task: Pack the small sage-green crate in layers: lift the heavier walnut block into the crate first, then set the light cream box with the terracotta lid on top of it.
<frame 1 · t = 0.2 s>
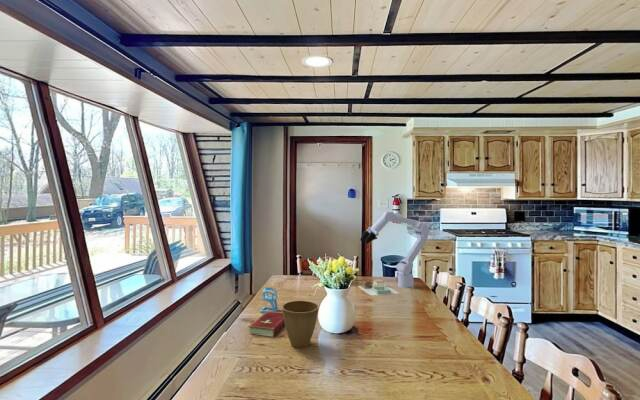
hand: (363, 241, 238), 31 cm above the table, tool tilted 45°, fingers open, 7 cm apart
packing board: (380, 293, 232), on the table
plant pot: (300, 344, 157), on the table
snack box: (334, 283, 256), on the table
cream box: (378, 286, 245), point 1 cm above the table, touching packing board
hardcover book: (270, 328, 176), on the table
chair: (269, 311, 199), on the table
walnut block: (367, 287, 242), point 1 cm above the table, touching packing board
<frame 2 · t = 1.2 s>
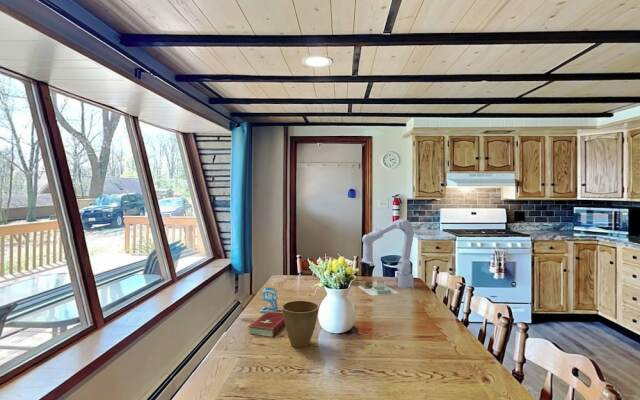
hand: (367, 274, 242), 9 cm above the table, tool pointing down, fingers open, 7 cm apart
nothing on the table moved.
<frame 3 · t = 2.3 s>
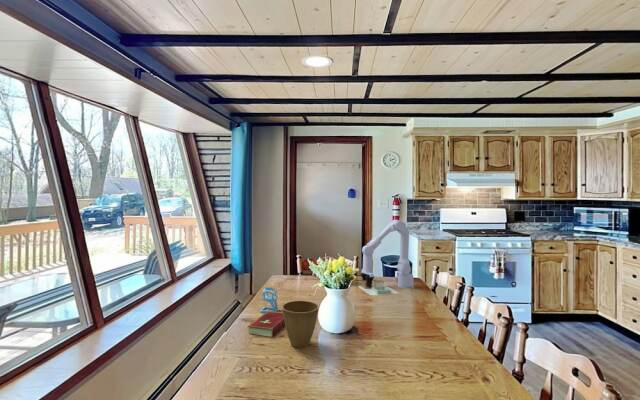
hand: (367, 285, 242), 2 cm above the table, tool pointing down, fingers closed on walnut block, 5 cm apart
walnut block: (367, 287, 242), point 1 cm above the table, touching gripper, packing board
everything else where it was.
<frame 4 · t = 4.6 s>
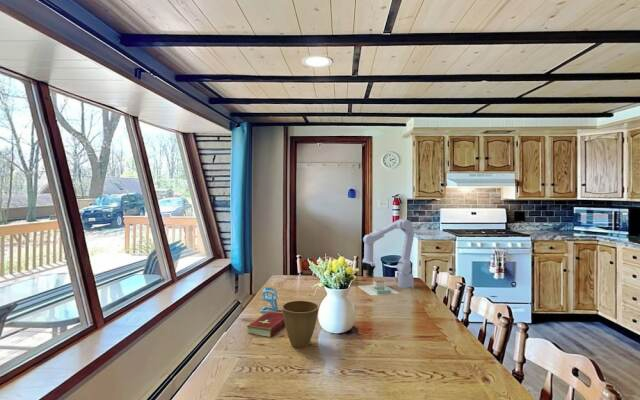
hand: (368, 275, 241), 9 cm above the table, tool pointing down, fingers closed on walnut block, 5 cm apart
walnut block: (368, 277, 241), point 8 cm above the table, touching gripper
everything else where it was.
when the fingers open (4 cm above the table, at t = 7.1 s): walnut block drops 2 cm, resting on packing board.
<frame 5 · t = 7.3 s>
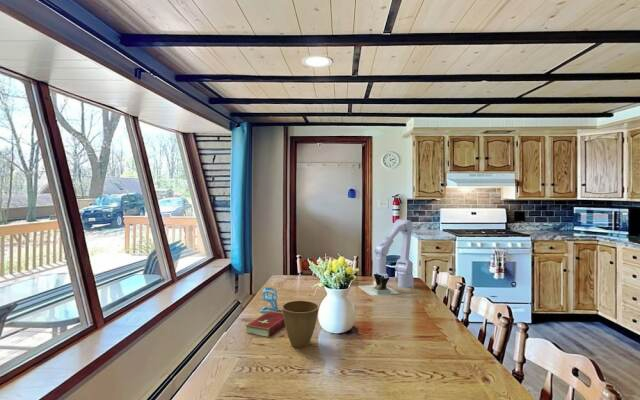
hand: (381, 287, 232), 4 cm above the table, tool pointing down, fingers open, 7 cm apart
walnut block: (380, 292, 232), point 1 cm above the table, touching packing board
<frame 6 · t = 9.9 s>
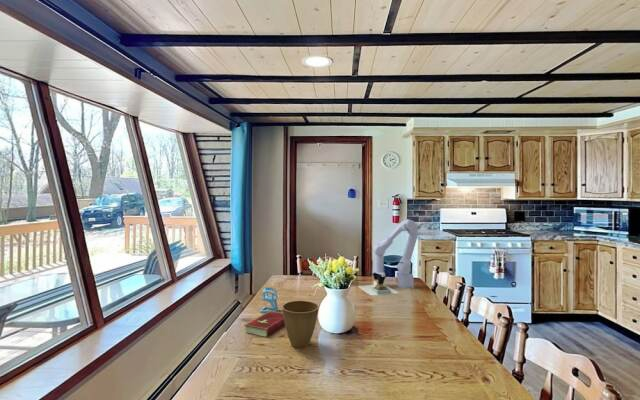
hand: (378, 285, 245), 2 cm above the table, tool pointing down, fingers closed on cream box, 5 cm apart
cream box: (378, 286, 245), point 1 cm above the table, touching gripper, packing board
when the fingers open (6 cm above the table, at t = 14.0 s): cream box stays where it is, resting on walnut block.
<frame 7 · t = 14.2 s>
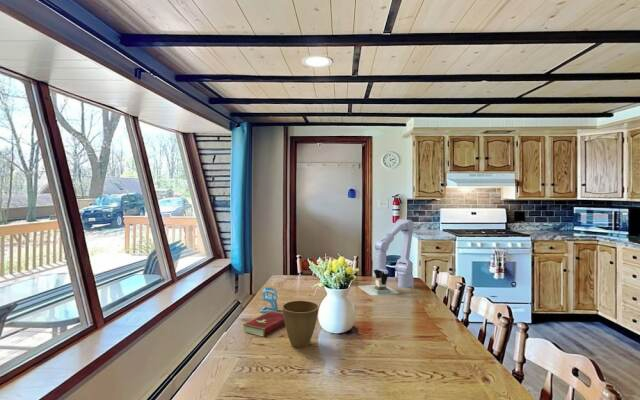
hand: (381, 283, 232), 6 cm above the table, tool pointing down, fingers open, 7 cm apart
cream box: (381, 285, 232), point 5 cm above the table, touching walnut block
walnut block: (380, 292, 232), point 1 cm above the table, touching cream box, packing board
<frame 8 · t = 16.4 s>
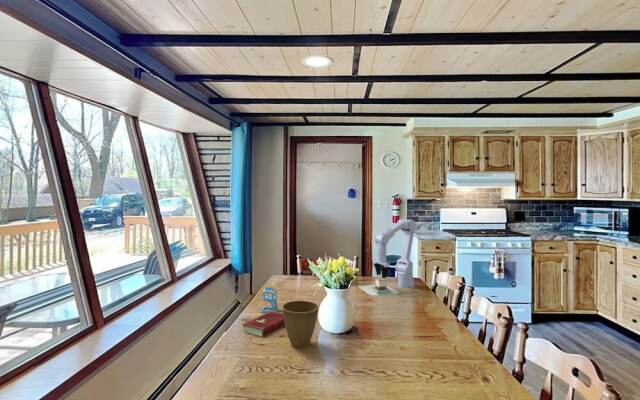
hand: (381, 276, 232), 10 cm above the table, tool pointing down, fingers open, 7 cm apart
at the end: walnut block 0.1 cm off-centre on the packing board, point 0.8 cm above the packing board's base; cream box 0.0 cm off-centre on the packing board, point 4.8 cm above the packing board's base; cream box tilted 0° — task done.
